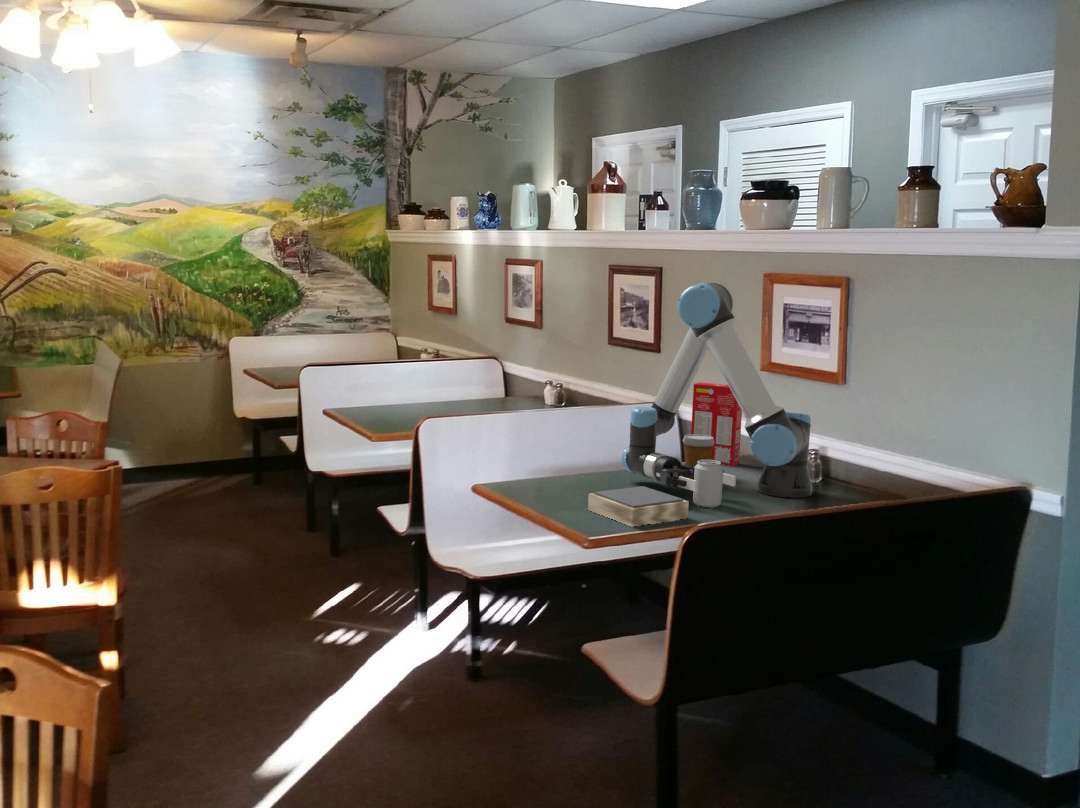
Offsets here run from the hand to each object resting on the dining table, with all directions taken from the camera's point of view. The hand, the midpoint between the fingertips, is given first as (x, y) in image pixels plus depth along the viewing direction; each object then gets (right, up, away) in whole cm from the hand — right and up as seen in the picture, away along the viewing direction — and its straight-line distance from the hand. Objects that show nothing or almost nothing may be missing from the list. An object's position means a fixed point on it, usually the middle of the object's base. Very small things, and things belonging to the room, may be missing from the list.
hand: (715, 483), depth 275 cm
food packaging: (+10, +2, +62) cm, 63 cm away
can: (-2, -6, +3) cm, 7 cm away
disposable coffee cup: (+1, -1, +40) cm, 40 cm away
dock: (-22, -7, -9) cm, 24 cm away
